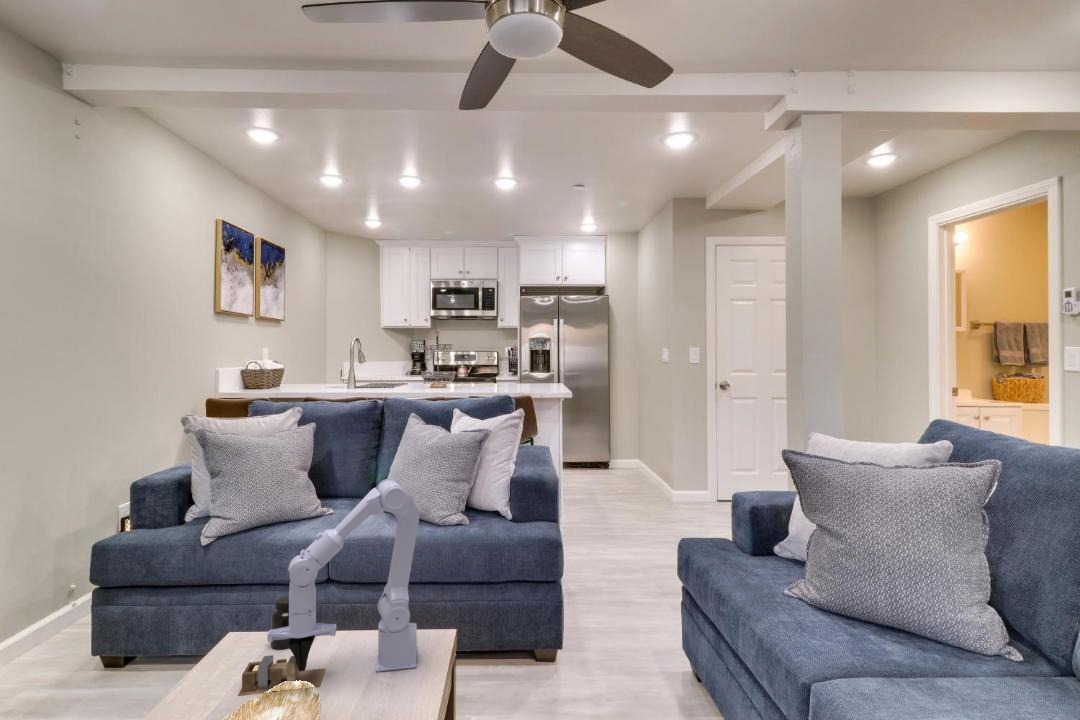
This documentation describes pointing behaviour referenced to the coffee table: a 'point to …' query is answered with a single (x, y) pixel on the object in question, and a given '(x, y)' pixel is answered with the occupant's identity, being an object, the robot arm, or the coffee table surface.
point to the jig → (276, 678)
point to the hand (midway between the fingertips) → (302, 668)
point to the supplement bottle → (280, 622)
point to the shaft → (283, 669)
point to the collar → (264, 672)
